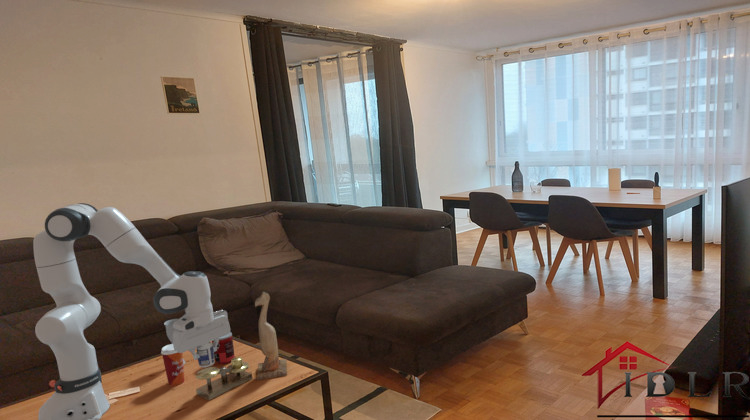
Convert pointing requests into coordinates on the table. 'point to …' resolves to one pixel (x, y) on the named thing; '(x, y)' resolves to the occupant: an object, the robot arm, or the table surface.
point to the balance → (223, 378)
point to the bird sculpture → (268, 344)
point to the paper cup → (173, 365)
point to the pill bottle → (205, 354)
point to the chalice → (170, 330)
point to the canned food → (224, 350)
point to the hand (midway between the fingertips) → (205, 355)
